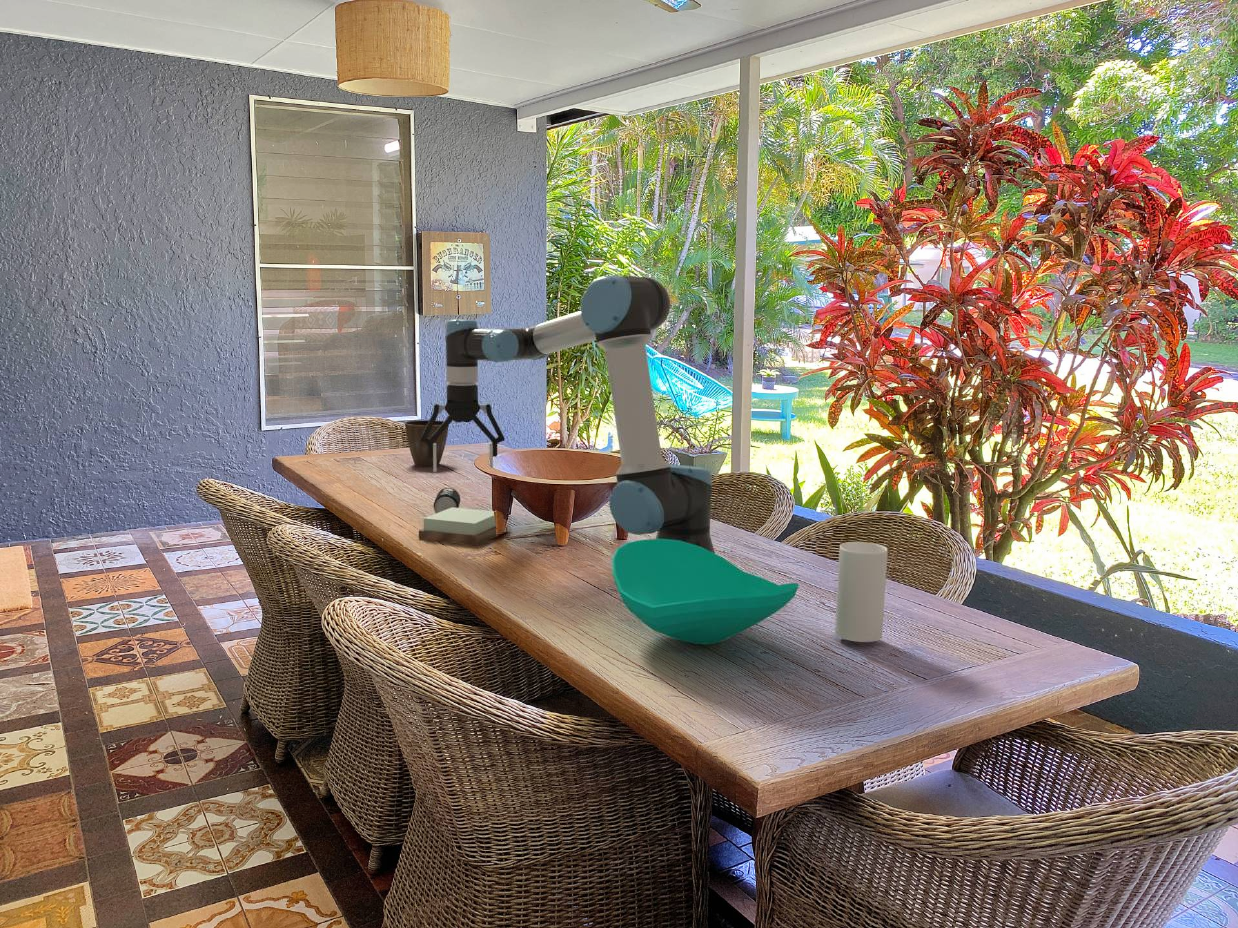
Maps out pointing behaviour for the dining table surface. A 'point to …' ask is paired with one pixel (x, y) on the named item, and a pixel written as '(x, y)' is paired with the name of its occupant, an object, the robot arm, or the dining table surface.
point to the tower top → (460, 521)
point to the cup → (861, 591)
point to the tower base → (459, 536)
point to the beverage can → (446, 500)
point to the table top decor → (693, 591)
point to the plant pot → (420, 448)
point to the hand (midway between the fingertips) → (463, 470)
